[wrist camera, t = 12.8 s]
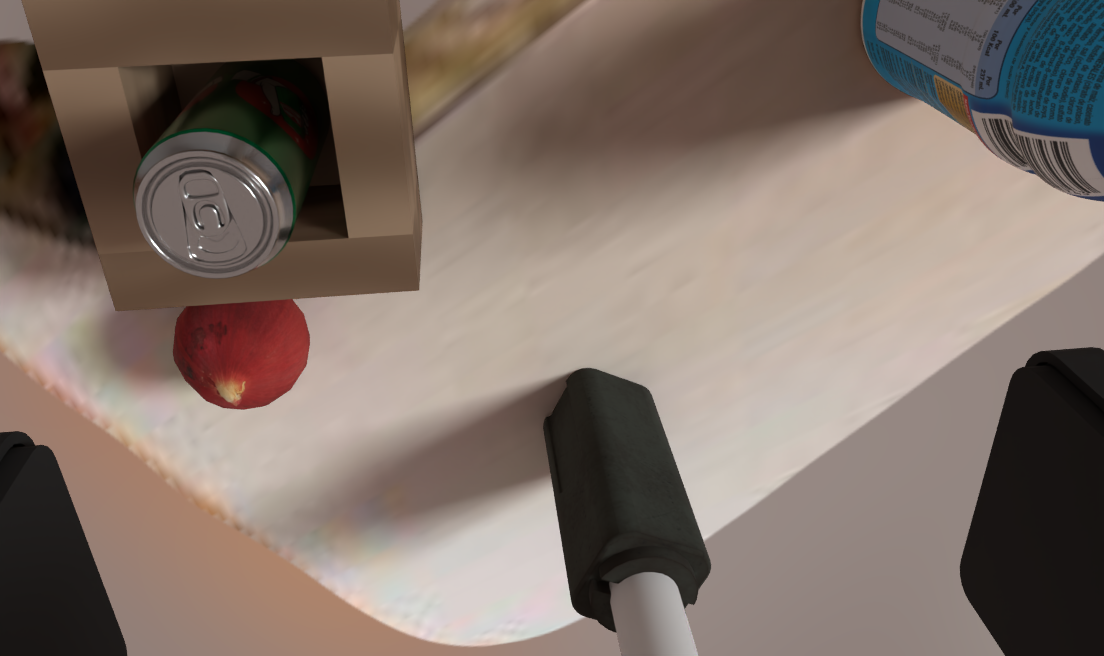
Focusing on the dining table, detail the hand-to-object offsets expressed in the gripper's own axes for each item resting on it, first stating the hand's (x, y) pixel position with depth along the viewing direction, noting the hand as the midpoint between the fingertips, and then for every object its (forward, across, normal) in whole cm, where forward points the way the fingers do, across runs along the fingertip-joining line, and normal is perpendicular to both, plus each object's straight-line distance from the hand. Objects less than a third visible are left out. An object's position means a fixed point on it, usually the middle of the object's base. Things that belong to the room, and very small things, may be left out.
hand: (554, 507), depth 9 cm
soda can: (+32, +9, +5) cm, 34 cm away
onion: (+34, +11, +15) cm, 38 cm away
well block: (+33, +9, +5) cm, 35 cm away
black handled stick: (+34, -5, +23) cm, 41 cm away
